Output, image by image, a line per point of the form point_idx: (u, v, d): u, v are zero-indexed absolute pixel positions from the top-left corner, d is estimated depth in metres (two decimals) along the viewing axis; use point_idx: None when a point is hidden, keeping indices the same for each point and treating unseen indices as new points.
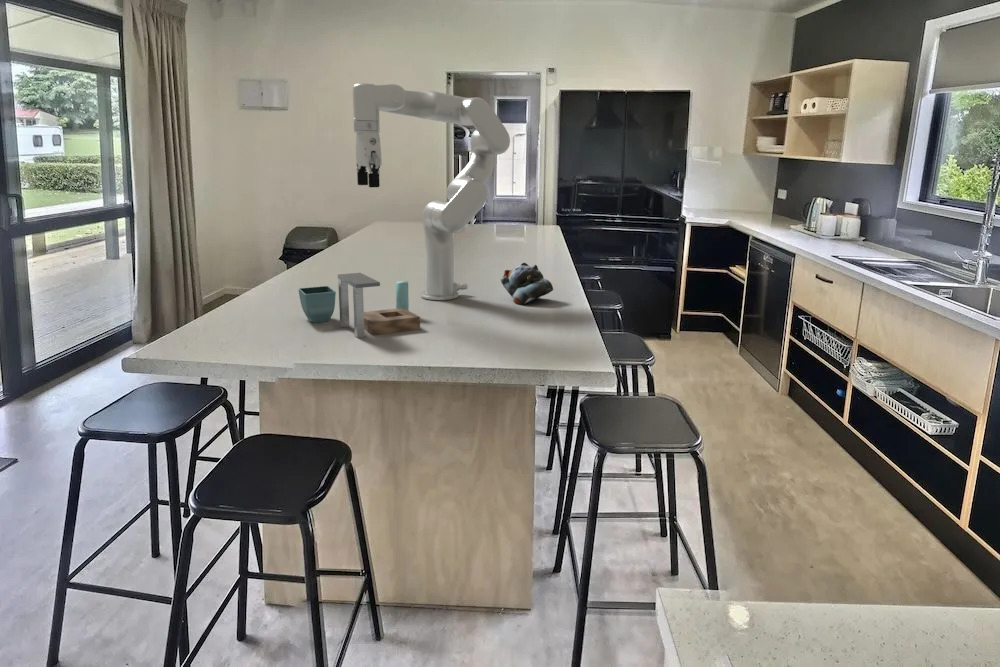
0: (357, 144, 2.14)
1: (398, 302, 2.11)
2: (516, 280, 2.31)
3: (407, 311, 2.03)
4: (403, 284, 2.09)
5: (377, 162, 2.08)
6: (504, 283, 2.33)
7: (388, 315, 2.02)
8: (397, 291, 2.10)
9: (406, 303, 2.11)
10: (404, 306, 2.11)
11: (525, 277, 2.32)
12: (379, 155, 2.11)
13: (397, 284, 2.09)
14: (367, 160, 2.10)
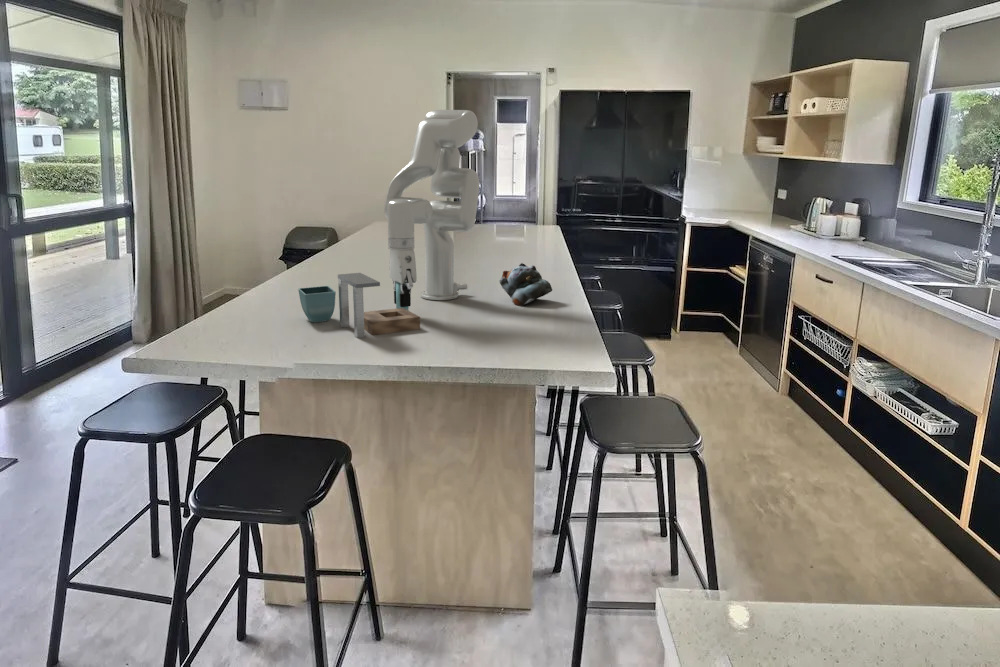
0: (391, 259, 2.09)
1: (398, 302, 2.10)
2: (515, 281, 2.29)
3: (407, 311, 2.03)
4: None
5: (410, 287, 2.05)
6: (503, 284, 2.31)
7: (388, 315, 2.02)
8: (397, 291, 2.10)
9: None
10: None
11: (524, 278, 2.30)
12: (414, 272, 2.06)
13: (397, 284, 2.09)
14: (402, 278, 2.05)
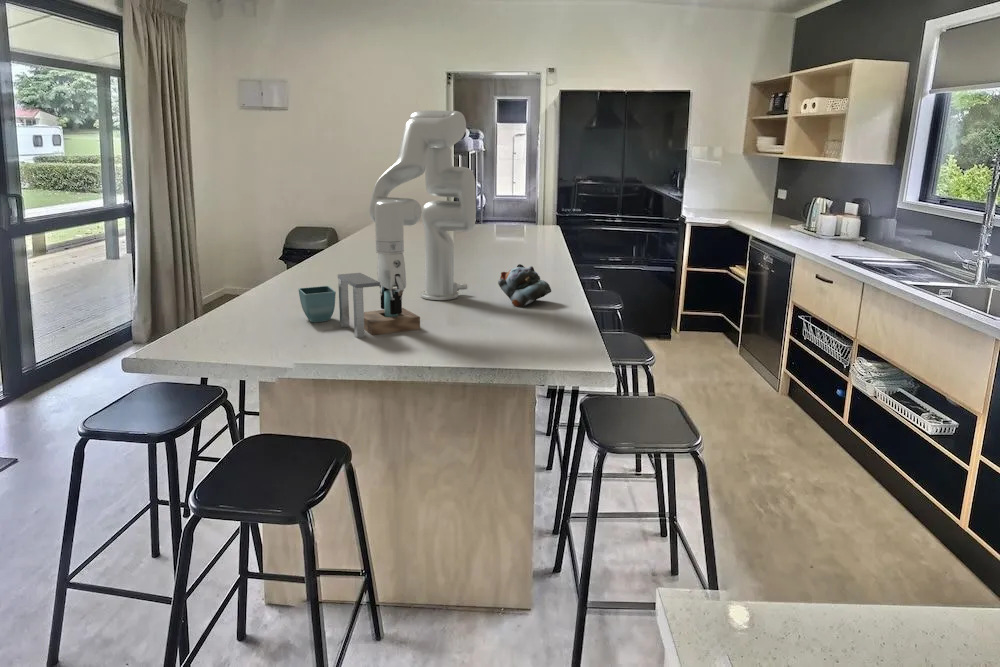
0: (379, 264, 1.96)
1: (386, 313, 1.98)
2: (514, 282, 2.28)
3: (407, 311, 2.03)
4: None
5: (400, 291, 1.91)
6: (502, 285, 2.29)
7: None
8: (385, 301, 1.97)
9: (395, 314, 1.98)
10: None
11: (523, 279, 2.29)
12: (403, 278, 1.93)
13: (385, 294, 1.96)
14: (391, 284, 1.92)
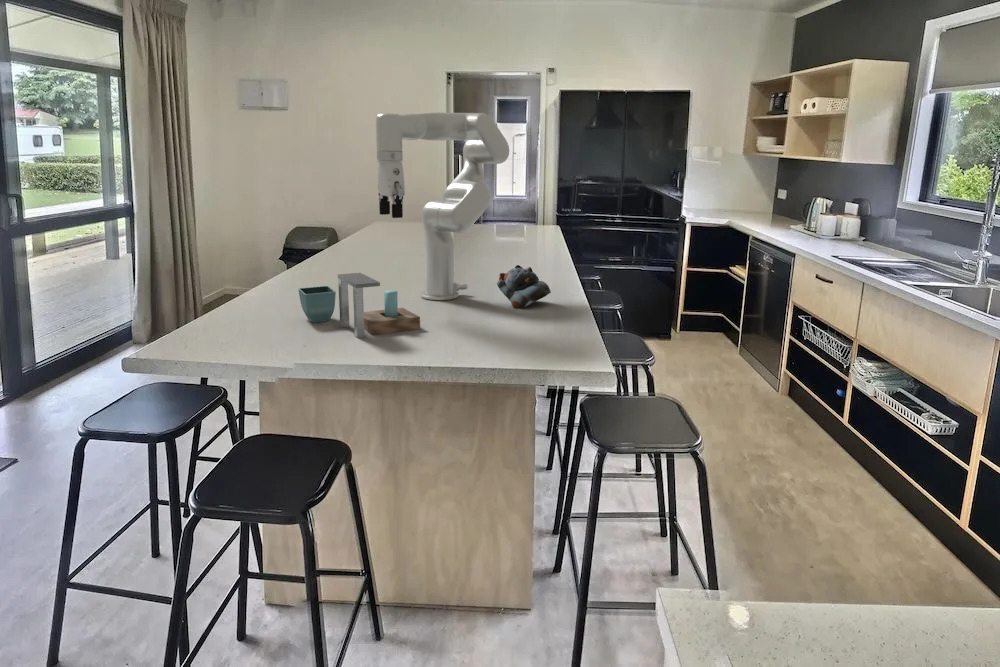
0: (380, 174, 2.11)
1: (386, 313, 1.97)
2: (514, 283, 2.26)
3: (407, 311, 2.03)
4: (392, 294, 1.96)
5: (401, 193, 2.05)
6: (501, 287, 2.27)
7: None
8: (385, 301, 1.97)
9: (395, 314, 1.98)
10: None
11: (522, 280, 2.27)
12: (402, 185, 2.09)
13: (385, 294, 1.96)
14: (390, 191, 2.07)
